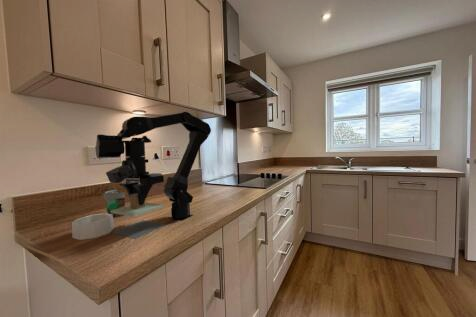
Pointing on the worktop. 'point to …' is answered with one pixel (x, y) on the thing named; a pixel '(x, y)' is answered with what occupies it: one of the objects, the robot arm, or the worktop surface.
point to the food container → (114, 201)
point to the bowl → (92, 226)
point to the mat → (138, 229)
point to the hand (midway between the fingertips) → (137, 204)
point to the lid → (136, 207)
